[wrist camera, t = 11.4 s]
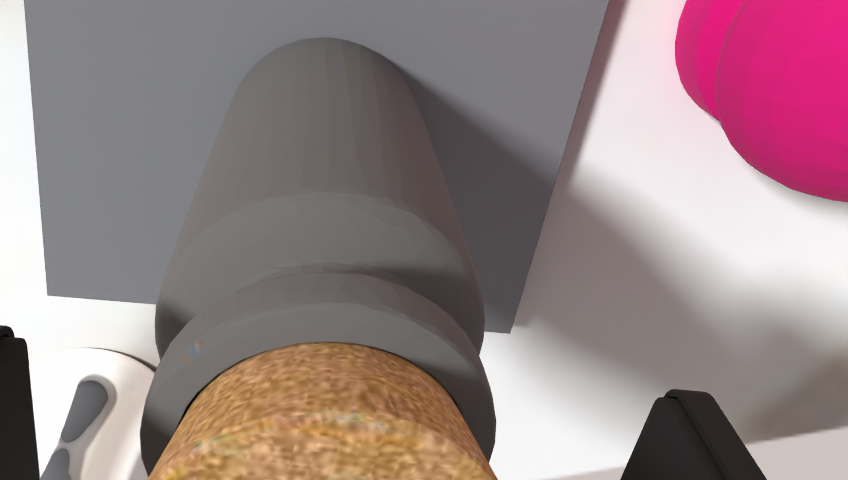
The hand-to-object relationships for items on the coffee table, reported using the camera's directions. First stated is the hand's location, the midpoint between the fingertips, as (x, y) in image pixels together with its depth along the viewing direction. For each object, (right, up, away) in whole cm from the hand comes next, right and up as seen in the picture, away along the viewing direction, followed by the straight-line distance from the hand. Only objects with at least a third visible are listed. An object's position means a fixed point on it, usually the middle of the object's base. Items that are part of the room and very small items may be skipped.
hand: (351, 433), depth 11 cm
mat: (-2, +7, +12) cm, 14 cm away
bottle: (-2, +6, +11) cm, 13 cm away
